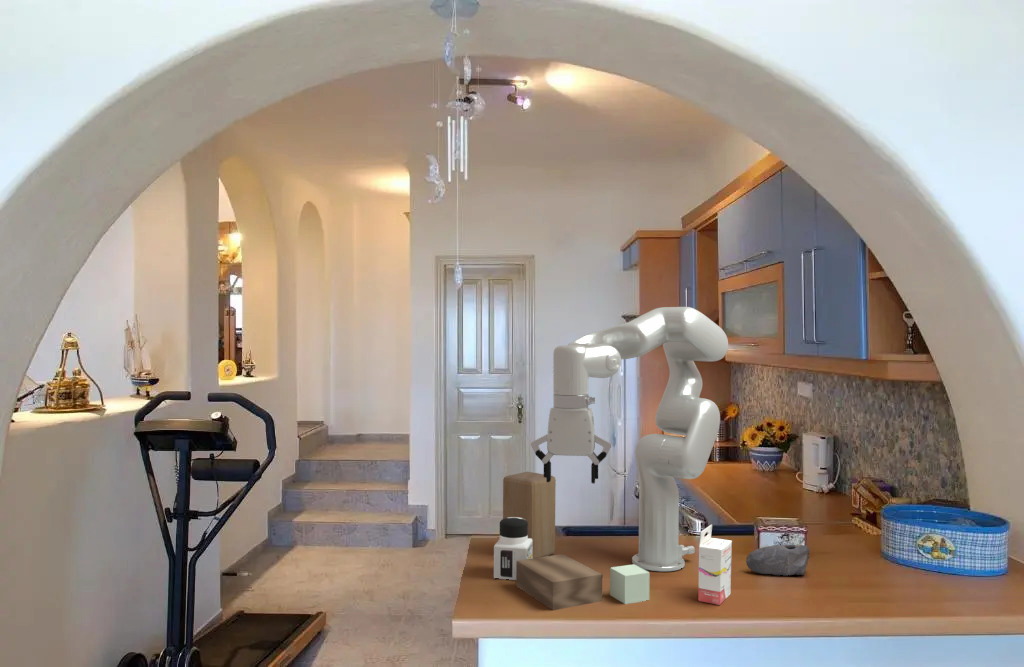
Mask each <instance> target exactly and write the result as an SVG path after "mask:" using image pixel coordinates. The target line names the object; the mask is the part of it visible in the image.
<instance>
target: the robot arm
mask: <svg viewBox="0 0 1024 667" xmlns="http://www.w3.org/2000/svg"><path fill="white" fill-rule="evenodd" d="M661 346H662V347H663V351H664V354H665V358H666V361H667V364H668V370H669V378H668V381H667V384H666V386H665V389H664V392H663V394H662V397H661V400H660V401H659V405H658V408H657V410H656V413H655V425H656V426H657V428H658V429H659V430H660V431H662V432H664V433H667V434H661V433H650V434H647V435H644V436H642V437H641V438H640V439H639V440H638V441H637V444H636V445H635V450H634V454H635V462H636V468H637V473H638V475H637V476H638V489H639V490H638V491H639V492H638V493H639V494H638V498H639V499H638V553H636V554H634V555H633V556H632V557H631V562H632V565H633V564H634V565H636V566H638V567H640V568H642V569H644V570H646V571H653V572H674V571H679V570H682V569H683V568H684V567H685V565H686V564H685V562H686V561H685V559H684V558H683V557H684V556H685V555H693V554H694V553H695V552H696V549H695V547H694V546H693V545H687V546H685V545H684V544H679V529H680V528H679V522H680V519H679V514H680V512H679V510H680V504H679V502H680V494H679V492H680V491H679V487H678V485H677V484H678V483H677V482H676V479H675V478H678V479H679V478H680V479H685V480H694V479H697V478H698V477H700V476H701V475H702V474H703V472H704V471H705V469H706V466H707V464H708V461H709V458H710V456H711V453H712V450H713V447H714V445H715V441H716V440H717V436H718V433H719V429H720V425H721V414H720V410H719V409H720V408H719V407H718V405H717V404H716V403H715V402H714V401H712V400H711V399H707V398H703V397H700V395H701V393H702V390H703V378H702V375H701V373H700V371H699V369H698V367H697V365H696V361H697V362H717V361H720V360H722V359H723V358H724V357H725V356H726V355H727V353H728V350H729V340H728V336H727V334H726V333H725V331H724V329H723V328H721V326H719V325H718V324H717V323H716V322H714V321H713V320H712V319H710V318H709V317H708V316H706V315H705V314H703V313H702V312H701V311H699V310H697V309H695V308H693V307H691V306H669V307H667V306H664V307H657V308H653V309H652V310H649V311H647V312H646V313H644V314H642V315H640V316H637V317H635V318H634V319H632V320H630V321H627V322H625V323H622V324H619V325H615V326H612V327H611V326H610V327H609V328H606V329H602V330H598V331H594V332H591V333H588V334H586V335H583V336H582V337H579V338H577V339H575V340H573V341H571V342H569V343H568V344H567V345H566V344H565V345H558V346H556V347H555V348H554V350H553V354H552V355H553V357H552V358H553V359H552V360H553V363H552V364H553V365H552V366H553V367H552V368H553V371H552V372H553V377H552V378H553V379H552V380H553V384H552V386H553V388H552V389H553V396H552V397H553V407H550V409H549V414H548V424H547V433H546V434H544V435H542V436H541V437H538V438H537V439H535V440H533V441H531V442H530V446H531V449H532V450H533V452H534V453H535V456H536V457H538V459H539V460H540V461H541V462H542V464H543V474H544V477H546V481H547V482H550V480H551V476H552V462H551V458H552V457H553V456H566V457H567V456H568V457H574V456H575V457H585V456H586V457H588V458H589V460H590V461H591V462H592V463H591V465H590V468H591V470H590V471H591V474H590V476H591V478H590V480H591V482H590V483H591V484H594V485H595V483H596V480H599V464H600V463H601V462H602V461H603V460H605V458H606V457H607V456H608V454H609V452H610V450H611V448H612V444H611V442H609V441H608V440H605V439H603V438H602V437H600V436H598V435H596V434H595V433H596V432H595V422H594V421H595V420H594V413H593V408H590V407H589V406H591V405H592V404H596V397H592V396H590V395H589V378H598V379H605V378H610V377H612V376H614V375H615V374H617V373H618V371H619V370H620V369H621V366H622V360H629V359H630V360H631V359H635V358H639V357H642V356H645V355H646V354H648V353H649V352H652V351H653V350H654V349H657V348H659V347H661ZM694 361H695V362H694ZM669 434H673V435H669ZM675 435H677V436H675ZM678 435H680V436H681V437H680V436H678ZM682 436H685V437H682ZM544 443H546V447H547V448H546V449H547V453H546V454H545V453H544V452H543V451H542V450H541V448H540V445H542V444H544ZM596 444H598V445H599V446H602V448H603V449H602V450H601V452H600V453H599V454H598V455H597V454H596V453H595V451H594V450H595V448H596V447H595V446H596ZM681 568H682V569H681Z"/></svg>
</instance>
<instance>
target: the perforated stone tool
mask: <svg viewBox="0 0 1024 667" xmlns="http://www.w3.org/2000/svg"><path fill="white" fill-rule="evenodd" d="M810 550H811V549H810V547H808V545H803V544H802V545H801V544H799V545H797V544H779V545H769V546H763V547H759V548H756V549H754V550H752V551H750V552H749V553H748V554H747V556H746V559H745V563H746V564H745V565H746V566H747V568H748V569H749V570H751V571H752V572H754V573H757V574H762V575H771V574H772V576H780V575H783V576H784V577H789V576H792V575H796V576H802V575H803V576H804V575H805V573H806V571H807V567H808V563H809V559H810ZM788 575H789V576H788ZM783 576H782V577H783Z"/></svg>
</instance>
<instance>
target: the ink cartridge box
mask: <svg viewBox="0 0 1024 667" xmlns="http://www.w3.org/2000/svg"><path fill="white" fill-rule="evenodd" d="M712 530H713V524H710V525H708V526H707V527H706V528H704V529H703V530H701V531H700V537H699V544H698V593H697V594H698V595H697V596H698V602H702V603H708V604H713V605H717V606H721V605H722V603H723V602H724V601H725V600H726V599H727V598H728V597H729V596H730V595H731V592H732V591H731V590H732V589H731V587H732V586H731V585H732V584H731V582H732V581H731V580H732V578H731V577H732V549H733V548H732V544H733V540H729V539H722V538H715V537H712ZM706 534H707V535H706Z"/></svg>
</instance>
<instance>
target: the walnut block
mask: <svg viewBox="0 0 1024 667" xmlns="http://www.w3.org/2000/svg"><path fill="white" fill-rule="evenodd" d="M515 581H516V582H515V584H516V585H515V587H516V586H517V587H516V588H518V587H519V588H520V590H521V589H522V590H523V592H524V591H525V592H526V594H527V593H528V594H527V595H528V596H530V595H531V596H530V597H532V598H533V597H534V598H533V599H534V600H536V599H537V600H536V601H538V602H539V601H540V602H539V603H540V604H542V603H543V606H545V605H546V606H545V607H547V608H548V607H549V608H548V609H550V610H552V611H558V610H562V609H567V608H574V607H579V606H584V605H589V604H595V603H599V602H603V573H601V572H599V571H597V570H595V569H592V568H591V567H589V566H588V565H586V564H583V563H581V562H580V561H577V560H575V558H572V557H570V556H567V555H565V554H564V553H563V554H562V553H561V554H555V555H553V554H552V555H548V556H546V557H539V558H533V559H526V560H519V561H516V580H515ZM519 588H518V589H519ZM522 590H521V591H522ZM525 592H524V593H525Z"/></svg>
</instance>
